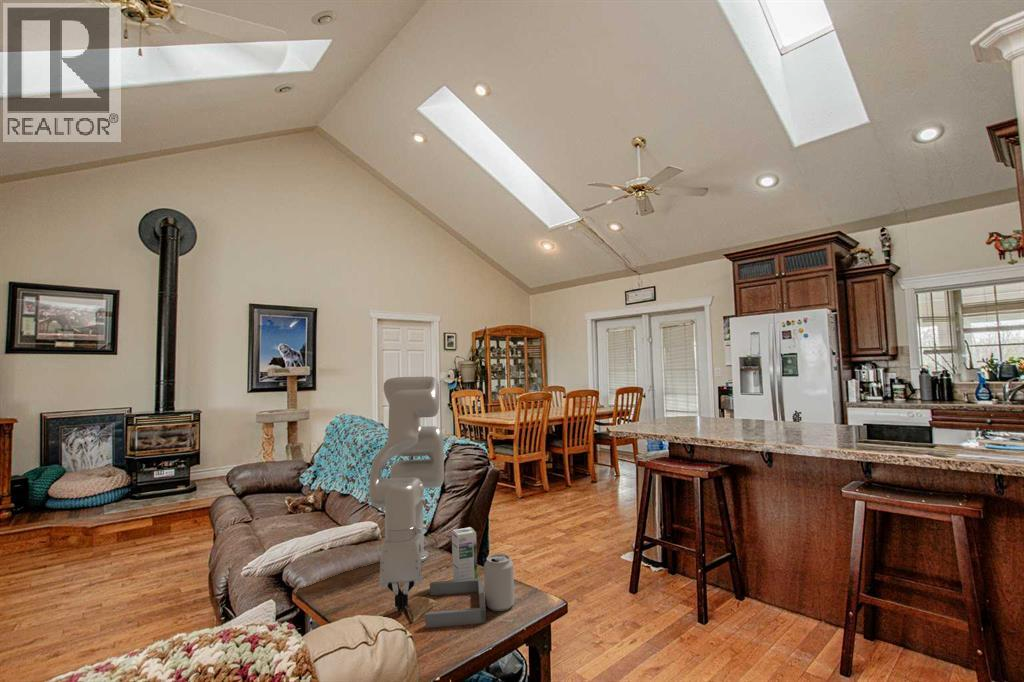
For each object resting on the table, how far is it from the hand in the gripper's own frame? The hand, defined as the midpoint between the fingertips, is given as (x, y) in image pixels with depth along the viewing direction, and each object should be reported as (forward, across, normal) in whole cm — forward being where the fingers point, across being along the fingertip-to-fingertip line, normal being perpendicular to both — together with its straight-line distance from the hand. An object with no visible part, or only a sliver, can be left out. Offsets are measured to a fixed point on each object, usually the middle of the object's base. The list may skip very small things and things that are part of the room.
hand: (401, 608), depth 121 cm
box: (+1, -14, -1) cm, 14 cm away
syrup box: (+1, -16, -16) cm, 22 cm away
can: (+1, -25, 0) cm, 25 cm away
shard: (+2, -5, -1) cm, 6 cm away
